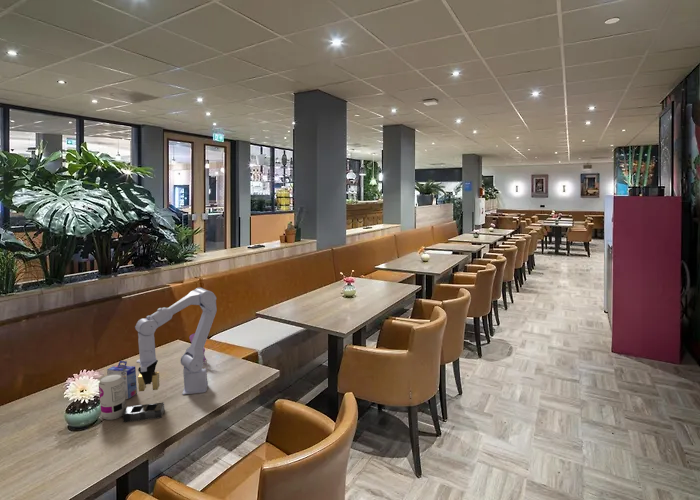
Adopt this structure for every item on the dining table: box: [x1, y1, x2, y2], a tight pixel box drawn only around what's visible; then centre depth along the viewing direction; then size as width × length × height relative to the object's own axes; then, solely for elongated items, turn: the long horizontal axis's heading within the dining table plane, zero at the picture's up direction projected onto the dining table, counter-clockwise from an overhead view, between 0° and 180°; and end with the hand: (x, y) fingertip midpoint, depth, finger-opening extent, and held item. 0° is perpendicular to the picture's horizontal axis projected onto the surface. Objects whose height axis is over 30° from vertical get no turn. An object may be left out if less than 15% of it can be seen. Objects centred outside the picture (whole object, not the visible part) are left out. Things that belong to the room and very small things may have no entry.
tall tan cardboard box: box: [137, 371, 160, 392], centre depth 163 cm, size 7×4×6 cm, turn 104°
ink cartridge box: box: [106, 360, 138, 400], centre depth 171 cm, size 10×6×14 cm, turn 79°
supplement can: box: [98, 374, 127, 421], centre depth 155 cm, size 8×8×15 cm
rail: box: [122, 401, 165, 423], centre depth 156 cm, size 13×6×3 cm, turn 104°
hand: (149, 381), depth 163 cm, fingers closed on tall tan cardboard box, 3 cm apart
